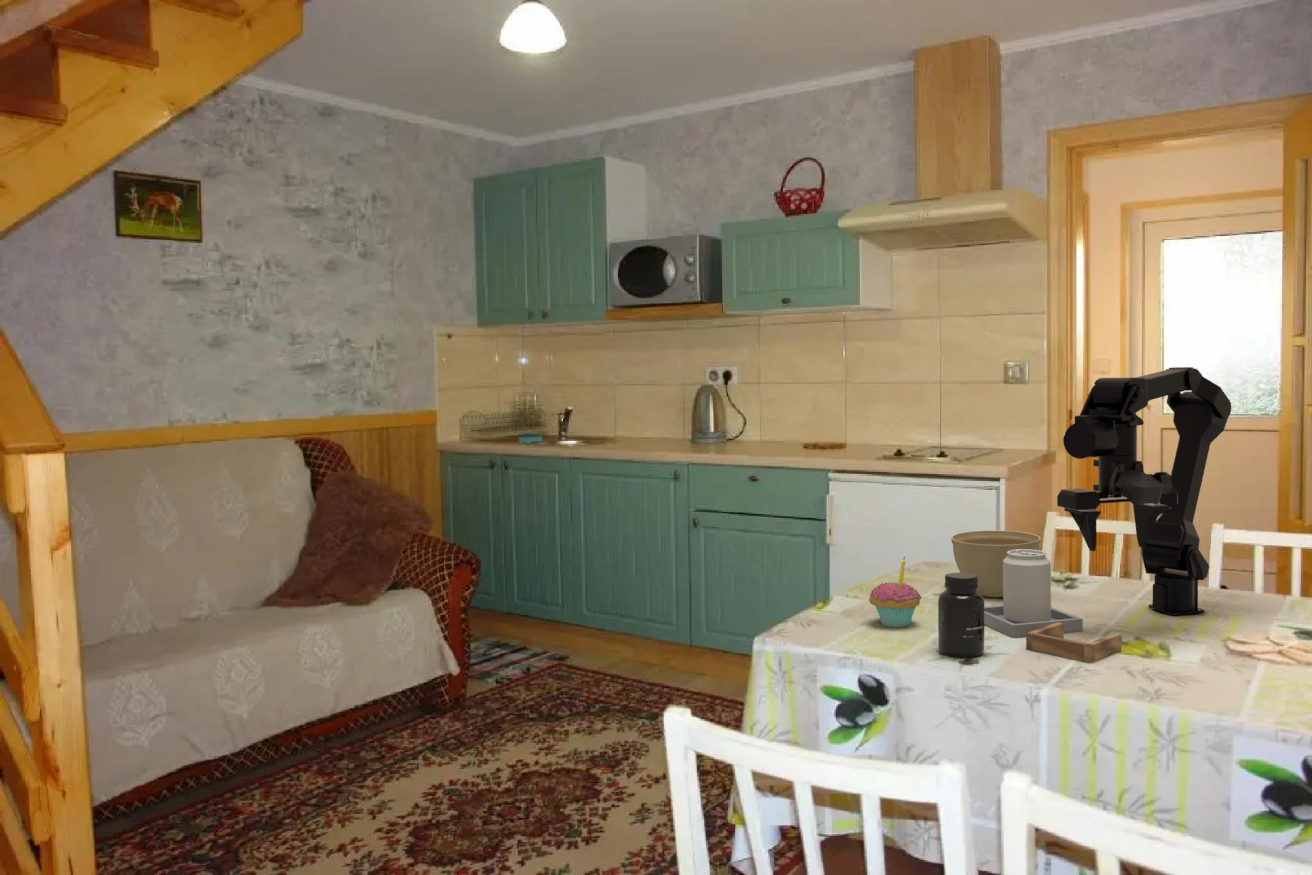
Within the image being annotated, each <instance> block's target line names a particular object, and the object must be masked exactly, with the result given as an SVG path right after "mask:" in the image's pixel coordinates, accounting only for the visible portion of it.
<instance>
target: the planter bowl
mask: <svg viewBox="0 0 1312 875" xmlns="http://www.w3.org/2000/svg"><path fill="white" fill-rule="evenodd" d="M950 539H951V540H950V541H951V545H952V550H953V551H952V552H953V556H954V560H955V563H956V566H957V568H958V570H959V573H969V574H974V575H976V576H977V577H978V588H977V589H976V591H977V592H978V593H980V594H981V595H982V596H983V597H986V598H987V597H988V598H1003V560H1004V559H1005V558H1006V557H1007V556H1008V554H1007V552H1008V551H1010V550H1015V549H1033V550H1040V544H1041V536H1039V535H1037V534H1034V533H1030V532H1024V531H1016V530H999V529H998V530H994V529H993V530H992V529H991V530H988V529H987V530H984V529H983V530H971V531H964V532H958V533H955V534H952V536H951V538H950Z"/></svg>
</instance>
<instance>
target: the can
mask: <svg viewBox="0 0 1312 875" xmlns="http://www.w3.org/2000/svg"><path fill="white" fill-rule="evenodd" d="M1007 554H1008V556H1007V557H1006V558H1005V559H1004V560H1003V597H1002V600H1003V601H1002V602H1003V603H1002V605H1003V611H1004V617H1005V618H1006V619H1007V620H1008V621H1009V622H1012V623H1014V624H1019V623H1029V622H1040V621H1048V620H1050V618H1051V607H1052V598H1051V597H1052V596H1051V595H1052V594H1051V593H1052V592H1051V587H1052V585H1051V579H1052V578H1051V576H1052V574H1051V570H1052V569H1051V565H1052V564H1051V561H1050V559H1049V558H1048V557H1047V556H1046V555H1047V553H1046V552H1045V551H1044V550H1040V549H1039V550H1033V549H1015V550H1010V551H1008V552H1007Z"/></svg>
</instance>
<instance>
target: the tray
mask: <svg viewBox="0 0 1312 875" xmlns="http://www.w3.org/2000/svg"><path fill="white" fill-rule="evenodd" d="M1083 620H1084V619H1083V618H1081V617H1078V616H1077V615H1073V614H1071V613H1068V612H1065V611H1063V610H1060V609H1057V608H1055V607H1052V606H1051V618H1050V620H1048V621H1040V622H1029V623H1019V624H1014V623H1012V622H1009V621H1008V620H1007V619H1006V618H1005V617H1004V611H1003V604H1002V605H1001V604H1000V605H991V606H984V624H985V625H984V626H986V627H988V628H991V629H993V630H995V631H998V632H999V633H1001V634H1004V633H1005V634H1004V635H1006V634H1007V635H1006V636H1009V637H1010V638H1013V637H1015V638H1023V637H1025V638H1026V633H1028V632H1031V631H1034V630H1037V629H1040V628H1043V627H1046V626H1048V625H1051V624H1054V623H1057V622H1059V623H1064V634H1066V633H1074V632H1075V633H1077V632H1083V631H1084V629H1083V628H1084V626H1083V625H1084V621H1083Z"/></svg>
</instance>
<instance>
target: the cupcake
mask: <svg viewBox="0 0 1312 875" xmlns="http://www.w3.org/2000/svg"><path fill="white" fill-rule="evenodd" d="M905 559H906V555H904V556H903V559H902V560H901V561H900V568H899V576H898V582H885V583H881V584H879V585H877V586H876V587H874V588H873V589H872V590H871V592H870V593H869V594H870V595H869V597H868V598H869V599H868V600H869V603H870V604H871V605H872V606H874V607H875V609H876V610H877V613H878V615H879V619H880V623H881V624H882V625H883V624H884V625H883V626H885V625H886V626H885V627H889V626H891V627H890V628H904V626H905V627H908V626H910V624H911V622H912V617H913V616H914V613H915V610H916V608H917V606H919V605H920V603H921V601H920V600H921V599H922V597H921V594H920V593H919V592H918V590H917V589H915V588H914V587H913V586H912V585H911V586H910V584H907V583H905V582H904V576H905V575H904V574H905V567H906V560H905Z"/></svg>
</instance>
